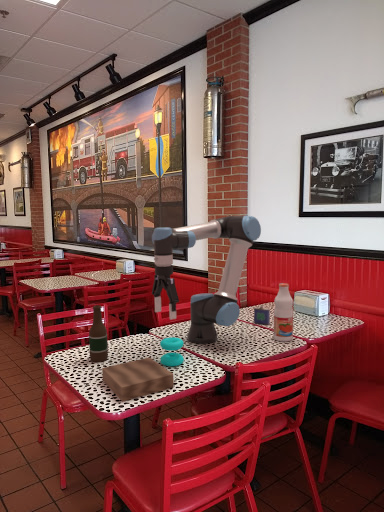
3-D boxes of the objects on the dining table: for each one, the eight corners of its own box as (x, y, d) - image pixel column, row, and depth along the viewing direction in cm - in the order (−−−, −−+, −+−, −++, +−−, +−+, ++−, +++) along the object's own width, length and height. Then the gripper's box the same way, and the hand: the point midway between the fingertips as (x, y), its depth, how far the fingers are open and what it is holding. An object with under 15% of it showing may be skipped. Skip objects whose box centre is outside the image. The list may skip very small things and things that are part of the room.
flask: (270, 324, 223) (270, 305, 222) (268, 325, 221) (268, 307, 219) (254, 322, 228) (254, 304, 226) (252, 323, 225) (253, 305, 224)
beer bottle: (88, 357, 174) (86, 304, 172) (106, 355, 177) (104, 303, 174) (90, 363, 167) (88, 308, 164) (109, 361, 170) (107, 306, 167)
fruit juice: (284, 334, 204) (285, 281, 201) (296, 340, 195) (297, 284, 192) (269, 337, 200) (270, 283, 196) (281, 343, 191) (282, 286, 188)
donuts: (185, 336, 171) (181, 344, 161) (185, 359, 172) (181, 367, 162) (162, 336, 172) (157, 343, 162) (163, 358, 173) (158, 366, 163)
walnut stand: (149, 369, 161) (149, 357, 160) (173, 387, 144) (173, 374, 143) (102, 380, 150) (102, 367, 150) (122, 401, 134) (121, 387, 133)
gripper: (143, 262, 171) (144, 310, 173) (169, 269, 149) (171, 323, 152) (158, 261, 175) (160, 307, 177) (186, 267, 153) (188, 320, 156)
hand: (165, 315), depth 165 cm, fingers open, 13 cm apart
